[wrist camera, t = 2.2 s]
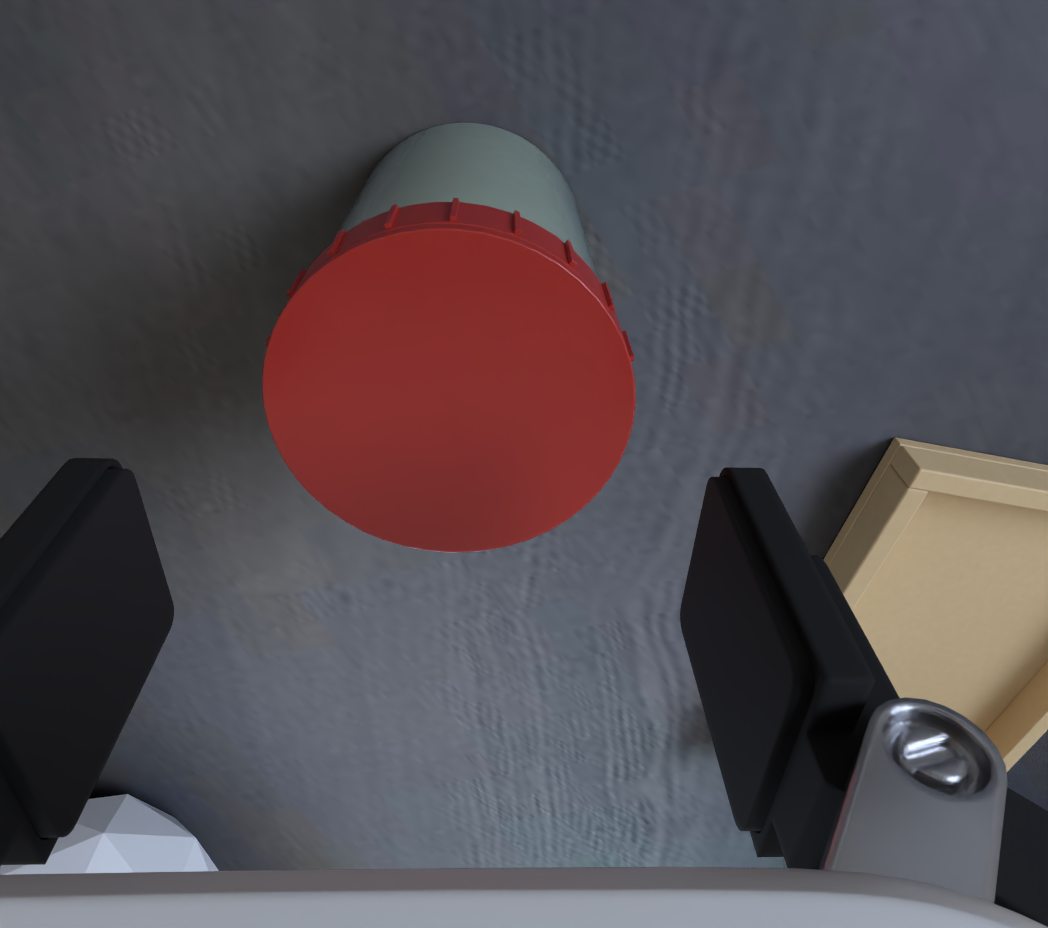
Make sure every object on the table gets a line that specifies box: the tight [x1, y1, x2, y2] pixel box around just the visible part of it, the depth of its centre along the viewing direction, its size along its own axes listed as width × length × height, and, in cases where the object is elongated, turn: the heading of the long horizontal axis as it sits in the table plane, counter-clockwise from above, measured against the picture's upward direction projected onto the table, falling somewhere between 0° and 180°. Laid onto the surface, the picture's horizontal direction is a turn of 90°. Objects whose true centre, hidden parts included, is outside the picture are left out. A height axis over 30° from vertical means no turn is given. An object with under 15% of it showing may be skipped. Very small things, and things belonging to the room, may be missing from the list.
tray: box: [824, 438, 1048, 772], centre depth 31 cm, size 17×13×2 cm
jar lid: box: [262, 198, 635, 552], centre depth 15 cm, size 7×7×2 cm
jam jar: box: [332, 123, 598, 278], centre depth 18 cm, size 7×7×9 cm
